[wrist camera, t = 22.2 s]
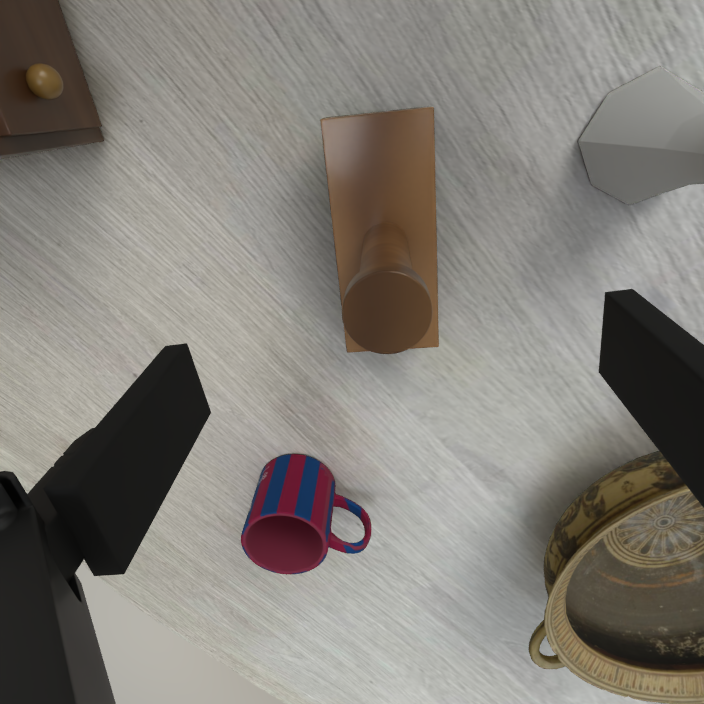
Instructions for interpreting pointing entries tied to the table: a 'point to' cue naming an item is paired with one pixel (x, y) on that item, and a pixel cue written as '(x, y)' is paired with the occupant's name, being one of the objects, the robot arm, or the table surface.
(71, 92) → the cabinet
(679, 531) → the ceramic bowl
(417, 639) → the table surface
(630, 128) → the flask
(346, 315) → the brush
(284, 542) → the mug
